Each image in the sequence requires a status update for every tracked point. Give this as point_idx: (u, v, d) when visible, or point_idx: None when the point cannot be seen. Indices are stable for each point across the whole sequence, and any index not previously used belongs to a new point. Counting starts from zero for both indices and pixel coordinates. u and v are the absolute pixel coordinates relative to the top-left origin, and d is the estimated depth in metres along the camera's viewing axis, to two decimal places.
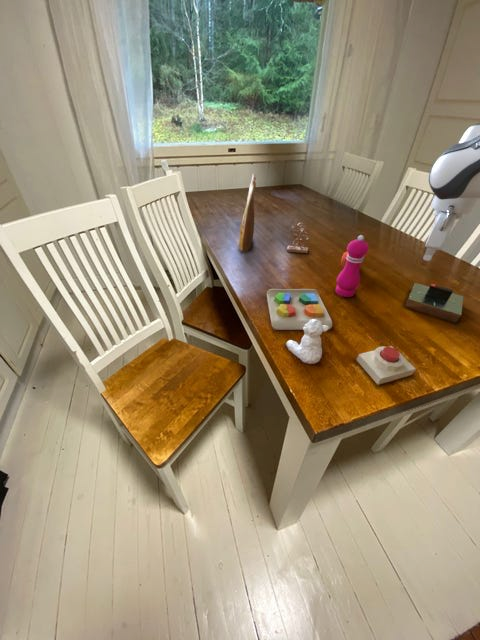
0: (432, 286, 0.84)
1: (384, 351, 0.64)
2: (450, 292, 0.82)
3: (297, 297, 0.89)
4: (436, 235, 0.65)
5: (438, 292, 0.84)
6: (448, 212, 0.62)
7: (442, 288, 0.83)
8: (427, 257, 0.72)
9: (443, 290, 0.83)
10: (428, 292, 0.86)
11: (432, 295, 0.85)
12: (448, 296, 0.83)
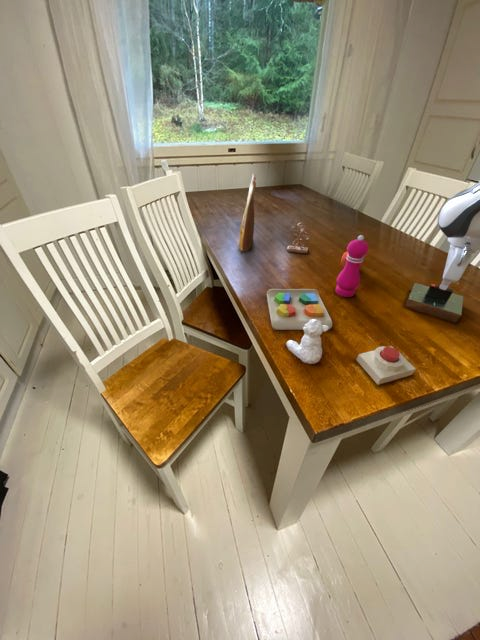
0: (432, 286, 0.84)
1: (384, 351, 0.64)
2: (450, 292, 0.82)
3: (297, 297, 0.89)
4: (453, 269, 0.71)
5: (438, 292, 0.84)
6: (465, 250, 0.68)
7: None
8: (444, 286, 0.78)
9: (443, 290, 0.83)
10: (428, 292, 0.86)
11: (432, 295, 0.85)
12: (448, 296, 0.83)
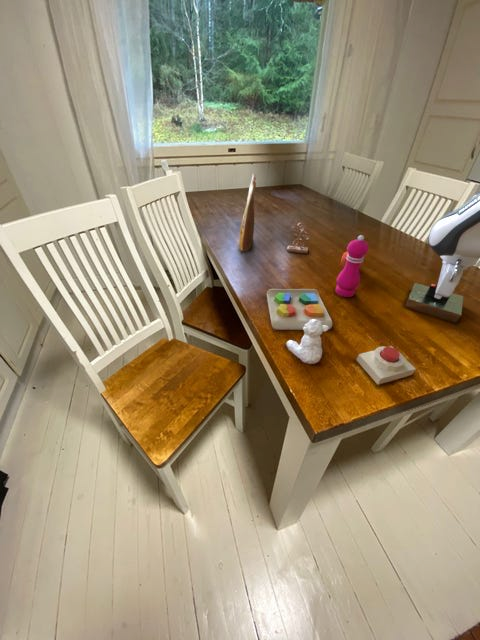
0: (432, 286, 0.84)
1: (384, 351, 0.64)
2: None
3: (297, 297, 0.89)
4: (445, 285, 0.74)
5: None
6: (456, 267, 0.71)
7: None
8: (438, 295, 0.83)
9: None
10: (428, 292, 0.86)
11: (432, 295, 0.85)
12: None
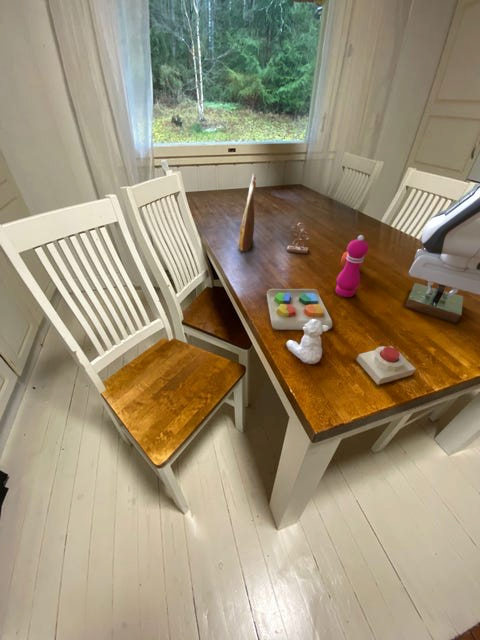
0: (439, 284, 0.85)
1: (384, 351, 0.64)
2: (437, 291, 0.82)
3: (297, 297, 0.89)
4: (413, 263, 0.85)
5: (436, 290, 0.85)
6: None
7: (440, 288, 0.83)
8: (428, 290, 0.86)
9: (438, 288, 0.84)
10: (436, 289, 0.87)
11: (435, 292, 0.86)
12: (435, 295, 0.83)
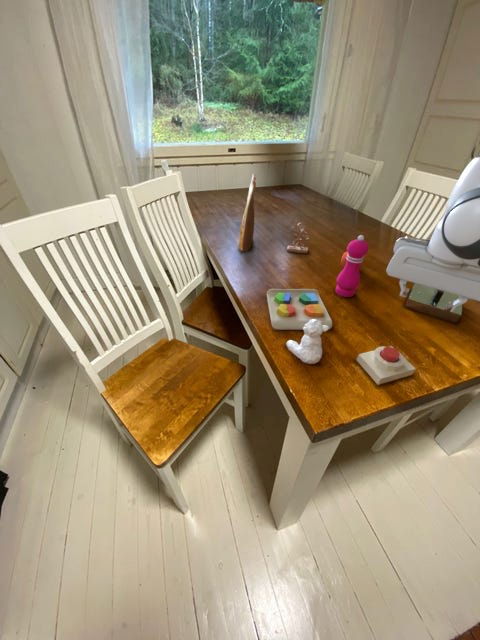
0: None
1: (384, 351, 0.64)
2: (437, 291, 0.82)
3: (297, 297, 0.89)
4: None
5: (436, 290, 0.85)
6: None
7: None
8: (401, 291, 0.65)
9: None
10: (436, 289, 0.87)
11: (435, 292, 0.86)
12: (435, 295, 0.83)
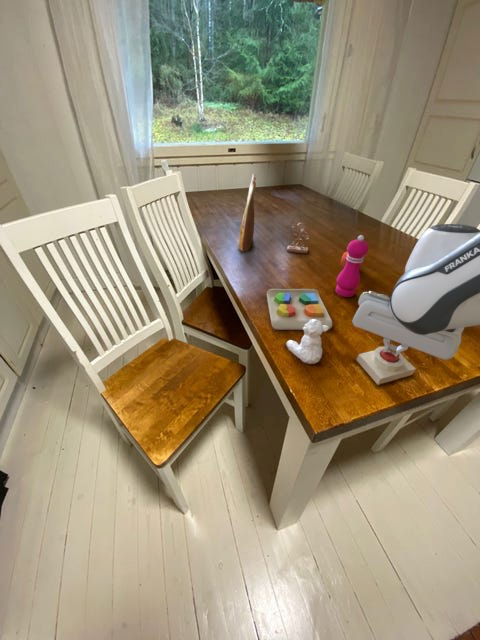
0: None
1: None
2: None
3: (297, 297, 0.89)
4: None
5: None
6: None
7: None
8: None
9: None
10: None
11: None
12: None
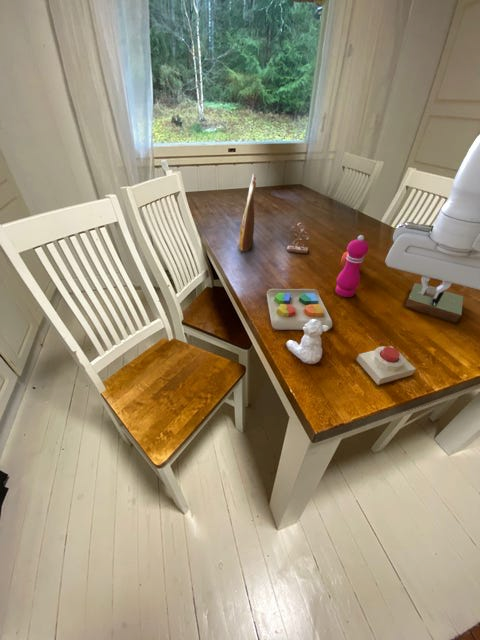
0: (439, 284, 0.85)
1: (384, 351, 0.64)
2: None
3: (297, 297, 0.89)
4: None
5: None
6: None
7: None
8: (422, 289, 0.57)
9: None
10: None
11: None
12: None
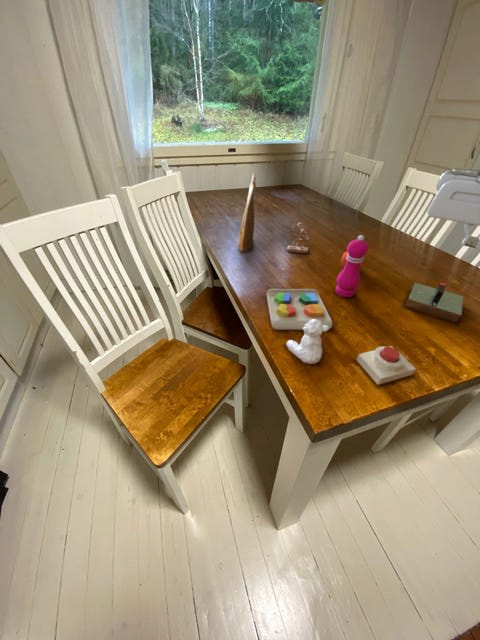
0: (439, 284, 0.85)
1: (384, 351, 0.64)
2: (437, 291, 0.82)
3: (297, 297, 0.89)
4: None
5: (436, 290, 0.85)
6: None
7: (440, 288, 0.83)
8: (463, 240, 0.58)
9: (438, 288, 0.84)
10: (436, 289, 0.87)
11: (435, 292, 0.86)
12: (435, 295, 0.83)
